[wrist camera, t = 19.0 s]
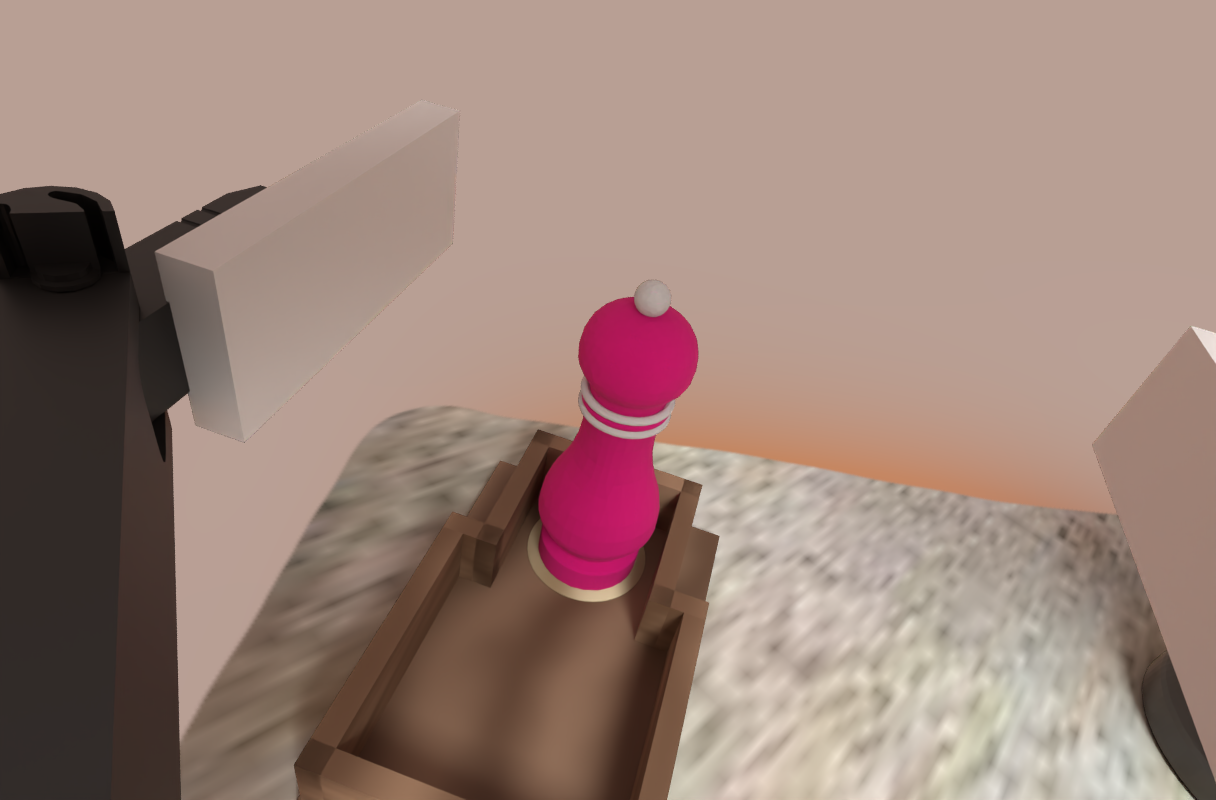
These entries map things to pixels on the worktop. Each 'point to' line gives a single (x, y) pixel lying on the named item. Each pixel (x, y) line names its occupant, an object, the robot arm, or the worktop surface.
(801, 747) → the worktop surface
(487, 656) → the keyhole cradle
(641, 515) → the pepper mill
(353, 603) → the worktop surface
